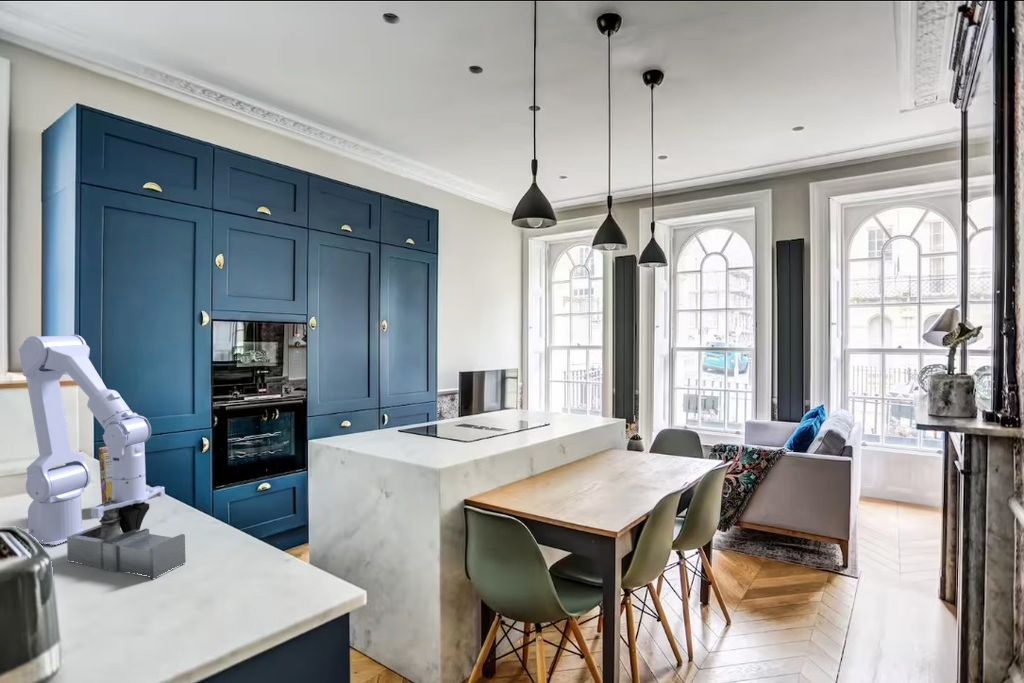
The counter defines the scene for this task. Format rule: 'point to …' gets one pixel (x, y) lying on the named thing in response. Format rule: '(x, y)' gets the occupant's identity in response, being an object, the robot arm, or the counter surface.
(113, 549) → the grey divided tray
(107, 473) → the candy box
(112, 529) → the grey tapered rounded piece
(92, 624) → the counter surface
